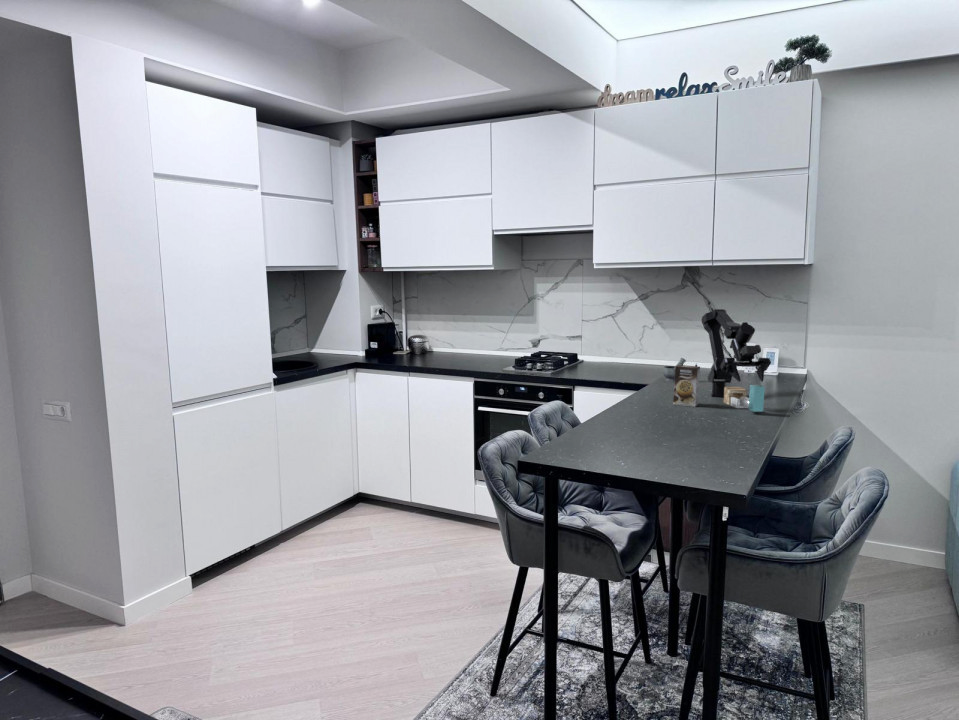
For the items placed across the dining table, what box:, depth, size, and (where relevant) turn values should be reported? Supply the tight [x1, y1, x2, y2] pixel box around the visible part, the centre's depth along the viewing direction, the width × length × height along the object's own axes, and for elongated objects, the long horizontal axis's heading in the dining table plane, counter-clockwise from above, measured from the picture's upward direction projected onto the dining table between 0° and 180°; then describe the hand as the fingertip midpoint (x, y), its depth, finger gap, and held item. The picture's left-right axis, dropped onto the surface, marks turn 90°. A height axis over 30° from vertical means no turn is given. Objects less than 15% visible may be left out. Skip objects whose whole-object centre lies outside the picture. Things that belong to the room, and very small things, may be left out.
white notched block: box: [730, 396, 749, 409], centre depth 273 cm, size 6×6×3 cm
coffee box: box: [672, 364, 701, 407], centre depth 275 cm, size 9×6×16 cm
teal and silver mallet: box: [739, 384, 766, 412], centre depth 264 cm, size 14×4×10 cm, turn 3°
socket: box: [723, 386, 747, 406], centre depth 279 cm, size 5×7×7 cm
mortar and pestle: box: [662, 357, 687, 383], centre depth 334 cm, size 11×9×12 cm
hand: (751, 381), depth 264 cm, fingers open, 9 cm apart
